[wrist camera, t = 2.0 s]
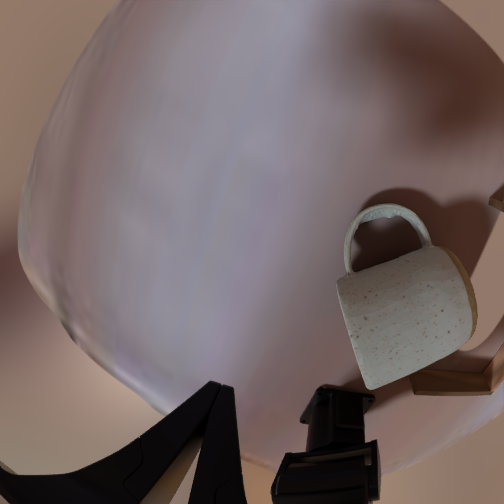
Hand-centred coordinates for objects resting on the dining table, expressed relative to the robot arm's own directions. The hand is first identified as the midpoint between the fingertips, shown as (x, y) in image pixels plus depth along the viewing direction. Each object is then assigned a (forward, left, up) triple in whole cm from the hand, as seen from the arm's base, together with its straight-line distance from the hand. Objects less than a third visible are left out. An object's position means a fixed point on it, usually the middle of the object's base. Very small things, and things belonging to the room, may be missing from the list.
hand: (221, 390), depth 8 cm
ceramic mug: (+1, -9, -13) cm, 15 cm away
